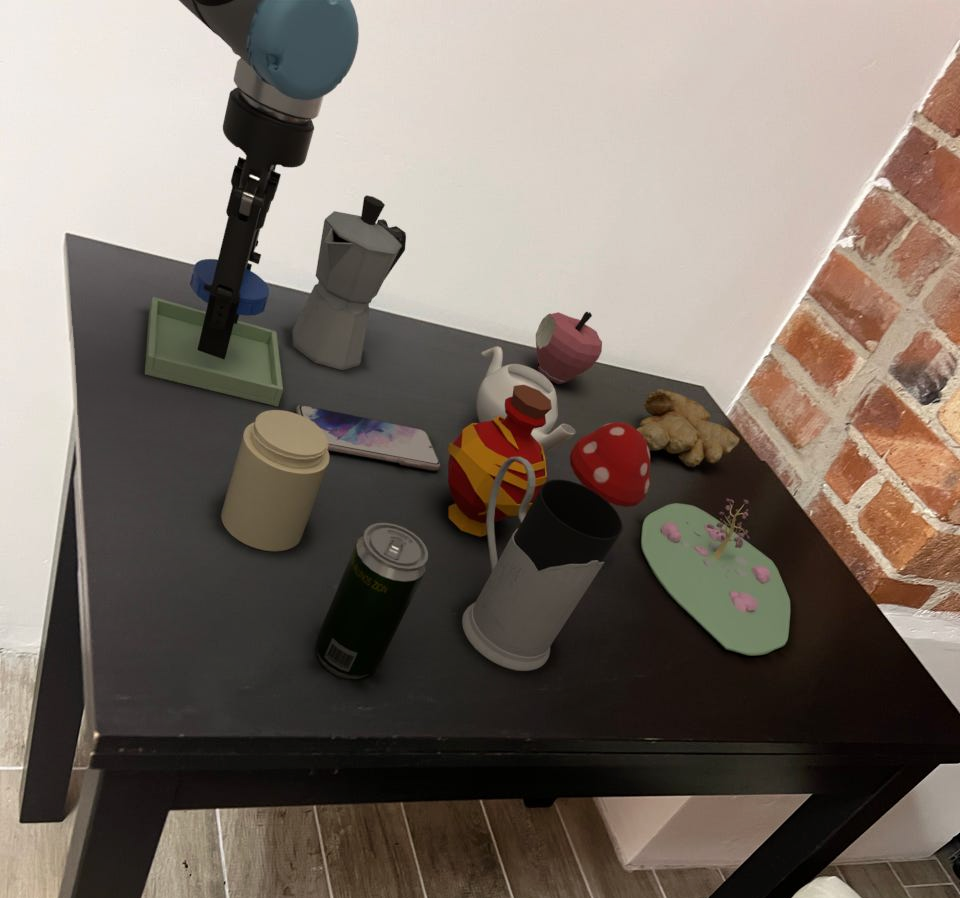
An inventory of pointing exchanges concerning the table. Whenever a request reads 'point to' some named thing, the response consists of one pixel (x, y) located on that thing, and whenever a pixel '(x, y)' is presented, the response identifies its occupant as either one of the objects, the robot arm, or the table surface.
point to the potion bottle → (497, 461)
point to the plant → (718, 577)
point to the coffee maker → (347, 285)
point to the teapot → (501, 388)
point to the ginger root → (684, 429)
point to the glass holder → (539, 570)
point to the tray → (240, 374)
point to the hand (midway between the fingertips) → (218, 334)
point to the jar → (275, 480)
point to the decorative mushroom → (613, 463)
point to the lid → (251, 290)
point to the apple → (566, 346)
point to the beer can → (371, 600)
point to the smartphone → (374, 438)
